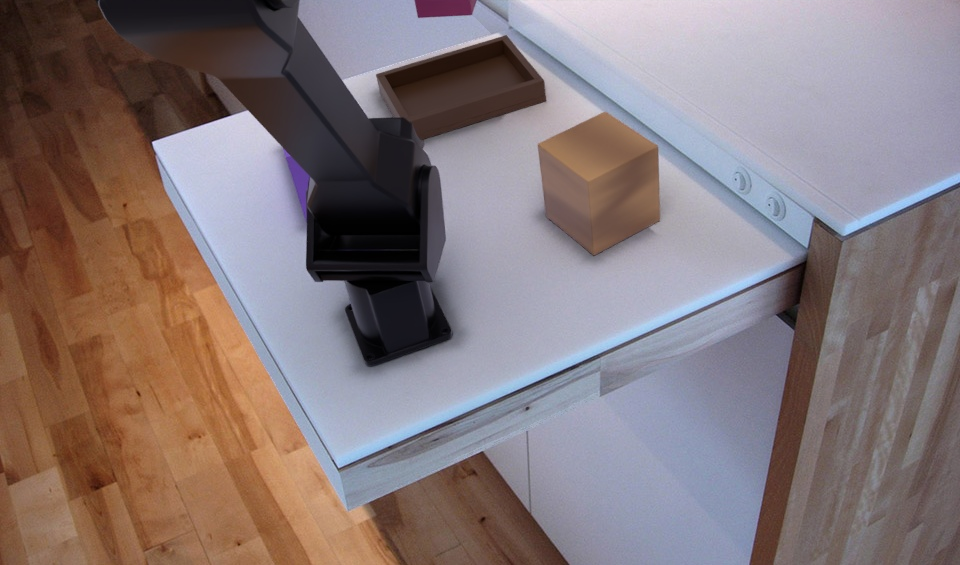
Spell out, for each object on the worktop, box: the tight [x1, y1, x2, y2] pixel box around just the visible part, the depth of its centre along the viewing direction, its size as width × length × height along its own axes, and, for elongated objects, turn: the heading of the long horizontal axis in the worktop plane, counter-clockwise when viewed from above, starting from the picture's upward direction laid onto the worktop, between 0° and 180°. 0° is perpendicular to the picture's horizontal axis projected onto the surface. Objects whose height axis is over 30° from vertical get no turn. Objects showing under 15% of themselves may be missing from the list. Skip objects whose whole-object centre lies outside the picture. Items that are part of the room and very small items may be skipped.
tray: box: [375, 34, 547, 140], centre depth 96 cm, size 10×13×2 cm
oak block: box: [537, 111, 661, 256], centre depth 78 cm, size 6×6×7 cm
